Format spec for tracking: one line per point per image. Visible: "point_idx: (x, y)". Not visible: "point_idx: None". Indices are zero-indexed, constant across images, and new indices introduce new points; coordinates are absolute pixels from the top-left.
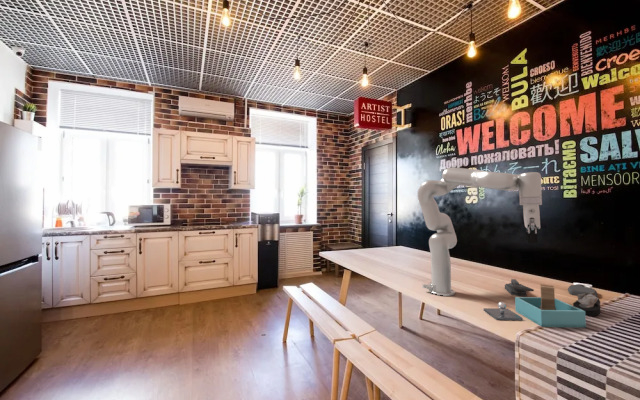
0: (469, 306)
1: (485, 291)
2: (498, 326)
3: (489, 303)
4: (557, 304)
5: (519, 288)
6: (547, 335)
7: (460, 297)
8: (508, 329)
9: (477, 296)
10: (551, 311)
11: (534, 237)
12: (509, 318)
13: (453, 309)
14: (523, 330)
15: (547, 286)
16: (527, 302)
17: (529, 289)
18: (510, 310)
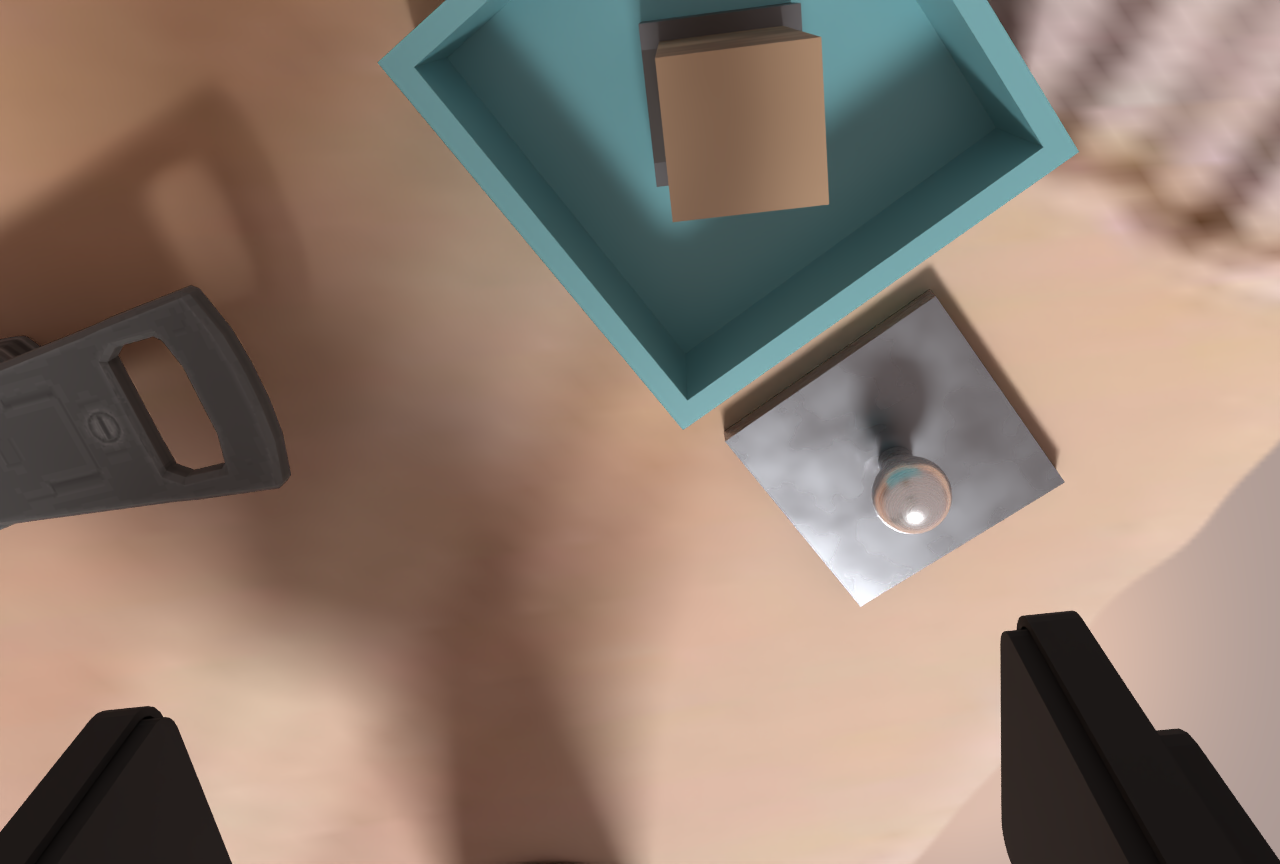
0: (811, 701)
1: (204, 681)
2: (1211, 435)
3: (597, 589)
4: (484, 11)
5: (269, 432)
6: (1227, 69)
7: (592, 806)
8: (1244, 361)
9: (445, 706)
10: (1018, 53)
11: (1267, 857)
12: (999, 389)
13: (978, 777)
14: (1203, 256)
15: (758, 129)
16: (622, 303)
17: (222, 332)
18: (769, 411)
